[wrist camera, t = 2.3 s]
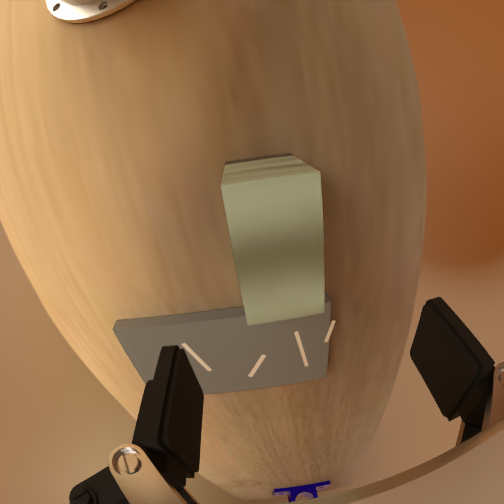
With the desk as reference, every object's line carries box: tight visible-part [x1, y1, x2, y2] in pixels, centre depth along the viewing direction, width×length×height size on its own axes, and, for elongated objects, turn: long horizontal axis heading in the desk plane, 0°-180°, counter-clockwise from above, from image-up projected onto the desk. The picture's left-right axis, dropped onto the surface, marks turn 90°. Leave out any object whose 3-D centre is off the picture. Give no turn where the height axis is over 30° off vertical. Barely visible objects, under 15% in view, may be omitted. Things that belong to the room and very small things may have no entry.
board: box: [113, 292, 336, 394], centre depth 29 cm, size 12×23×2 cm, turn 98°
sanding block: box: [221, 153, 324, 325], centre depth 19 cm, size 9×5×8 cm, turn 8°
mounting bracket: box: [273, 481, 330, 502], centre depth 62 cm, size 18×7×6 cm, turn 90°
